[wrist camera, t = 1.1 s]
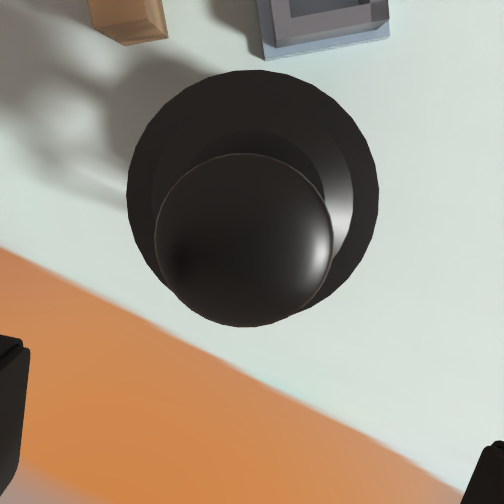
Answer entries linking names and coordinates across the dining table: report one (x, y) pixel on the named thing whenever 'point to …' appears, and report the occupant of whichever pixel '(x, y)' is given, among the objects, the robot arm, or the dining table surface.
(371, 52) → the dining table surface
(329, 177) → the french press
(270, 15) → the cradle
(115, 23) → the slat
